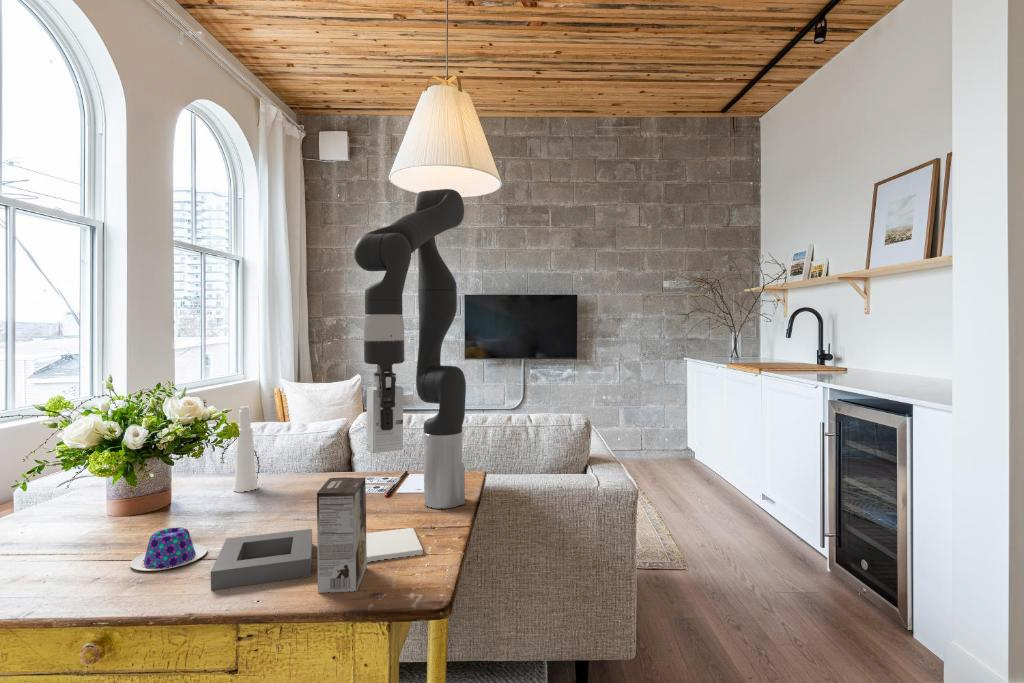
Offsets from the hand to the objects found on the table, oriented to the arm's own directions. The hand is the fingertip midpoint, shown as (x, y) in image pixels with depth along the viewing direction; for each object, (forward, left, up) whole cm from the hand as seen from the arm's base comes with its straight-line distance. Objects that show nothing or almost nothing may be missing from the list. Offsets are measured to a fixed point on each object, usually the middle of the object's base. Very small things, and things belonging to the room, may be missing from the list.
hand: (385, 426), depth 105 cm
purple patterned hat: (+38, -8, -24) cm, 46 cm away
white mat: (0, 0, -23) cm, 23 cm away
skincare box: (0, 0, -5) cm, 5 cm away
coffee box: (+8, +12, -23) cm, 28 cm away
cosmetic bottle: (+31, -53, -23) cm, 66 cm away
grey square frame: (+21, +1, -23) cm, 31 cm away
